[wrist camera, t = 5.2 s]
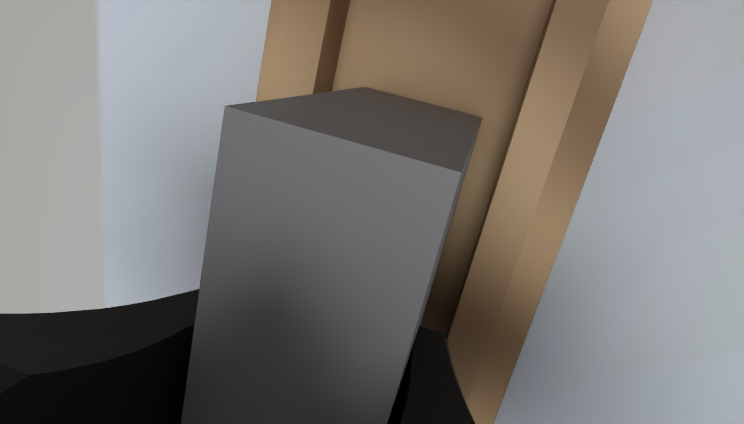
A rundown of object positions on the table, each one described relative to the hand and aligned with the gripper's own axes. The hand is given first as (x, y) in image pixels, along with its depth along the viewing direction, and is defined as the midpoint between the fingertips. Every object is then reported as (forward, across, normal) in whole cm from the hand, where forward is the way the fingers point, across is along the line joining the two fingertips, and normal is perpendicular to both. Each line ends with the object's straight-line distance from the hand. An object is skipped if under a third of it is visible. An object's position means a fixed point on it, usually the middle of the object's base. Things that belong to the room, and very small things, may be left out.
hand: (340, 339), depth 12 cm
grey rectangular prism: (+3, 0, 0) cm, 3 cm away
